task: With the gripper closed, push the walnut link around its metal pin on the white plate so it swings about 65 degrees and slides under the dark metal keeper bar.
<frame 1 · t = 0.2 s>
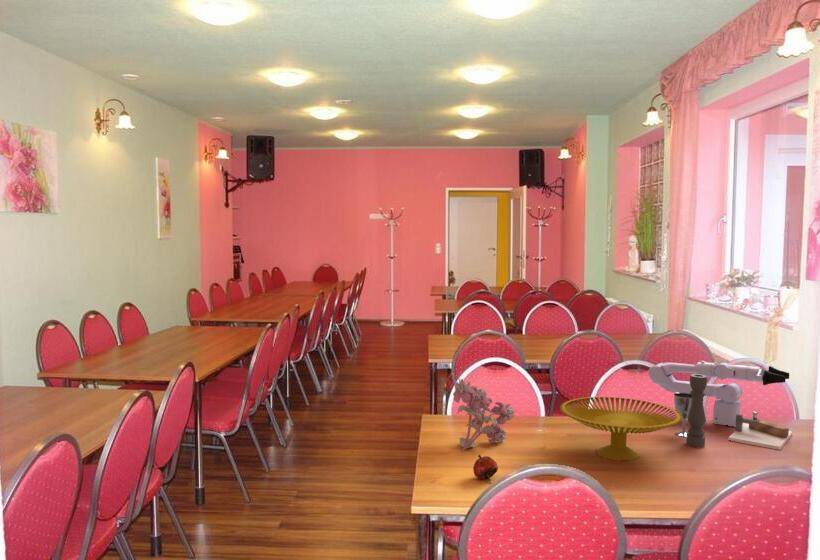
hand: (787, 377, 267), 21 cm above the table, tool horizontal, fingers open, 7 cm apart
wine glass: (683, 435, 266), on the table
pomegranate: (485, 479, 218), on the table
metal pin: (754, 431, 270), resting on white plate
candle holder: (695, 445, 253), on the table
pedestal fruit bowl: (618, 454, 243), on the table
walnut link: (767, 427, 265), point 3 cm above the table, hinge at -25.0°
white plate: (760, 437, 263), on the table
metal keeper: (738, 433, 267), resting on white plate
flower: (484, 444, 252), on the table
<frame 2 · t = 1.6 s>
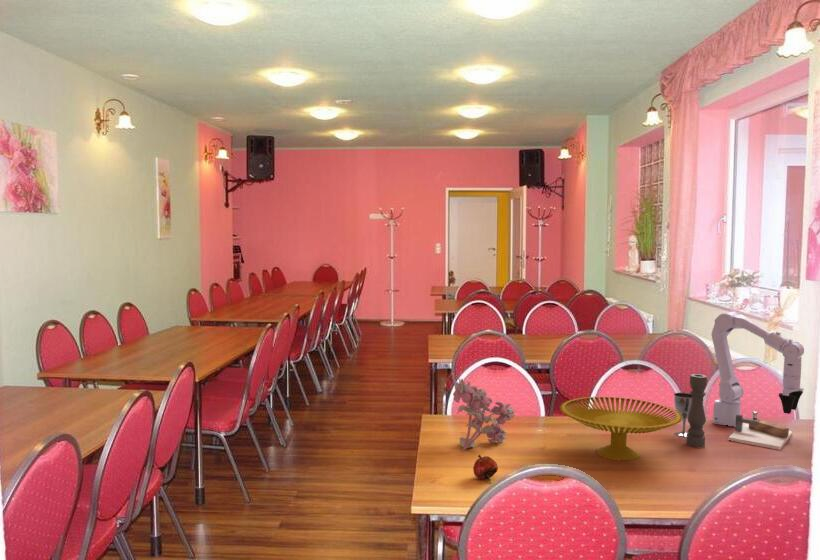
hand: (789, 411, 264), 9 cm above the table, tool pointing down, fingers open, 7 cm apart
nothing on the table moved.
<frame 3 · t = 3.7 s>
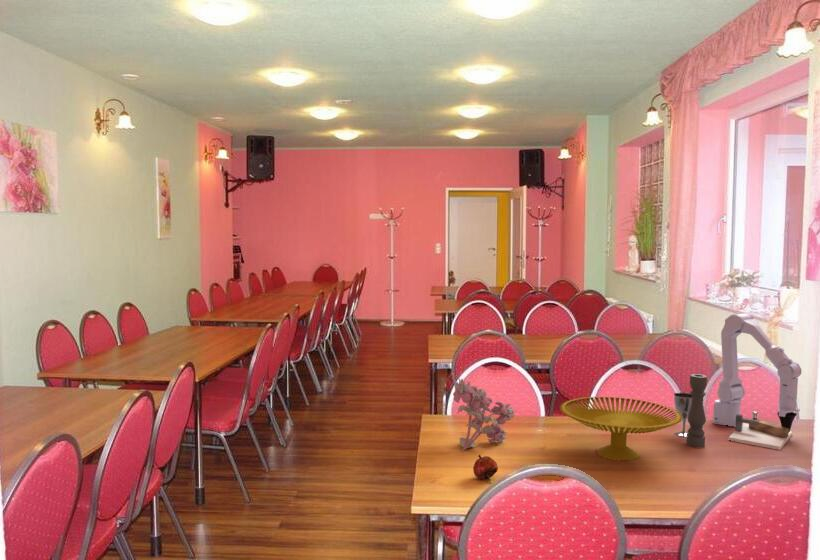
hand: (786, 431, 262), 2 cm above the table, tool pointing down, fingers closed
walnut link: (767, 427, 265), point 3 cm above the table, hinge at -25.0°, touching gripper
everything else where it was.
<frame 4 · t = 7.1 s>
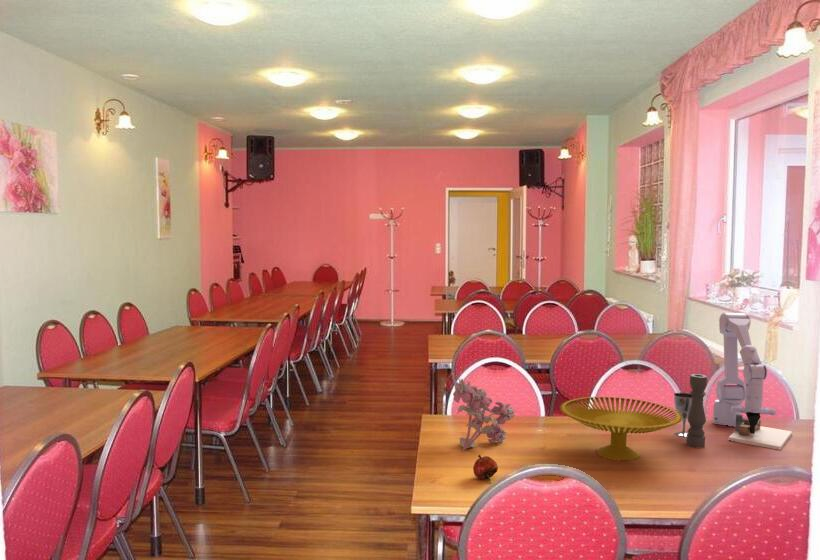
hand: (751, 432, 260), 2 cm above the table, tool pointing down, fingers closed, pressing on walnut link
walnut link: (749, 426, 266), point 3 cm above the table, hinge at -96.2°, touching gripper
everything else where it was.
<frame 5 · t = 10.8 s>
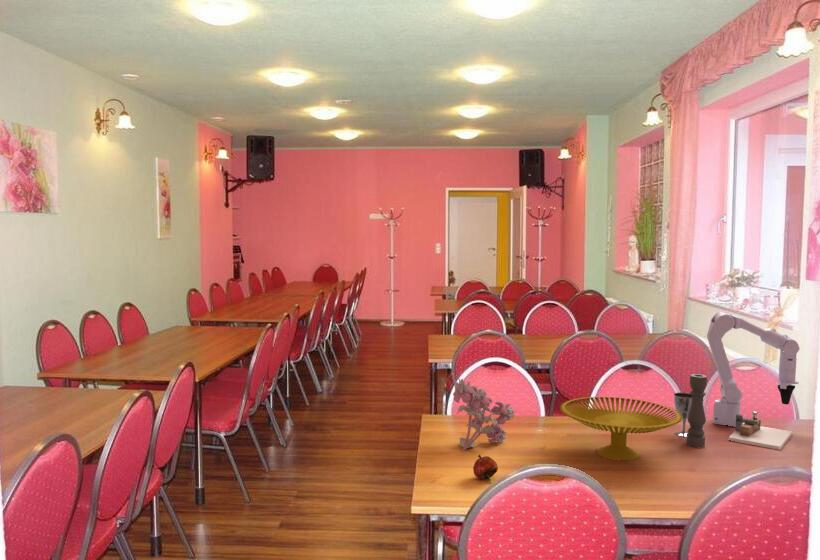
hand: (785, 403, 275), 9 cm above the table, tool pointing down, fingers closed
walnut link: (750, 426, 266), point 3 cm above the table, hinge at -93.8°
everything else where it was.
at the end: walnut link at -94° (first picture: -25°); wine glass moved 0.2 cm from its start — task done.
